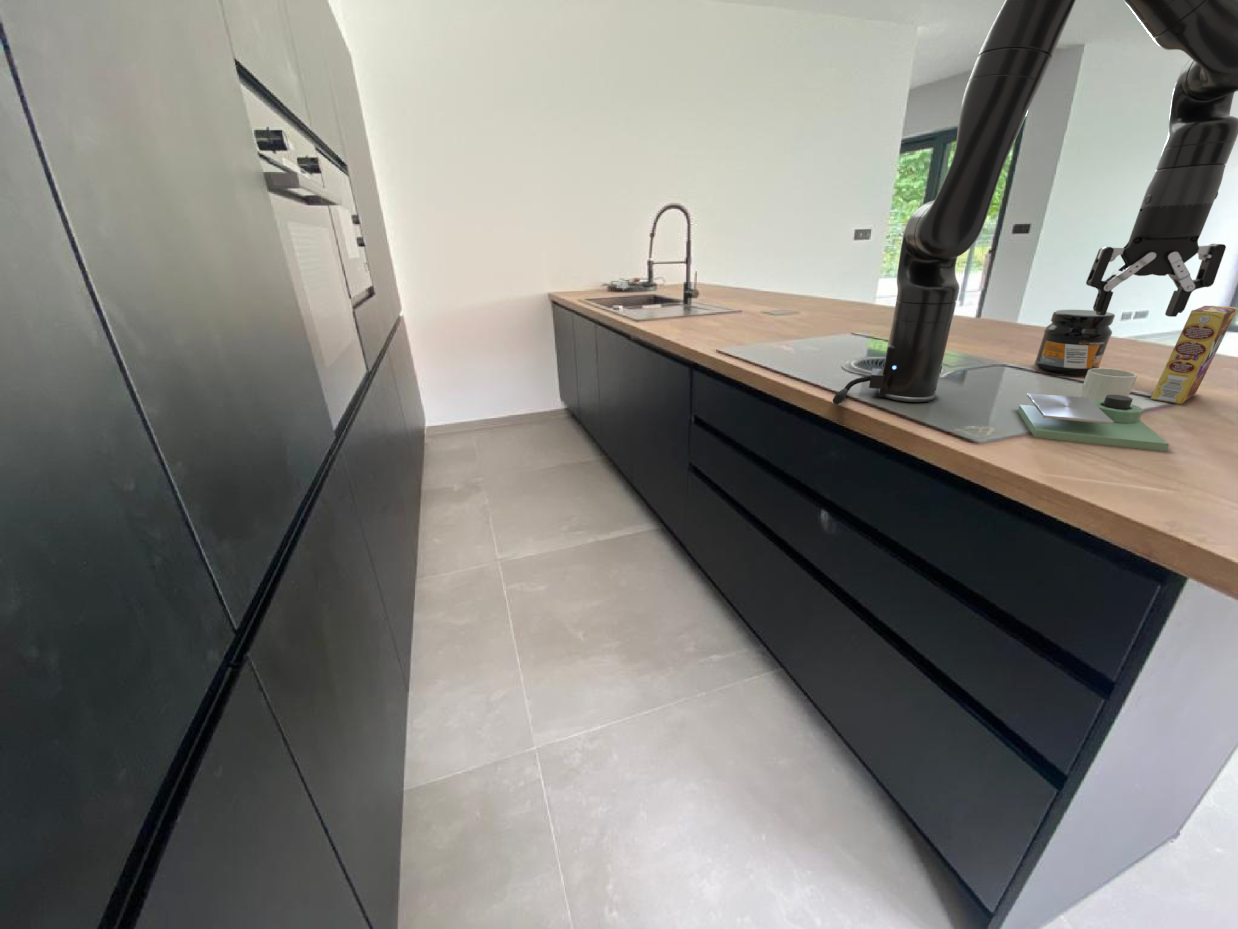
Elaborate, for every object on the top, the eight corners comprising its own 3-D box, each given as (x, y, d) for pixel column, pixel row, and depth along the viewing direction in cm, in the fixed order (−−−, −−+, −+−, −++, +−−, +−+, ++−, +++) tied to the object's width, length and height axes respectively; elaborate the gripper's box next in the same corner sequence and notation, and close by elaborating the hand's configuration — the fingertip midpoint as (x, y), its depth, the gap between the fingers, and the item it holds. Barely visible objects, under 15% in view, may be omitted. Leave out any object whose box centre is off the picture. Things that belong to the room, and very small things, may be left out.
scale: (1034, 437, 75) (1040, 418, 73) (1017, 410, 85) (1022, 393, 84) (1165, 451, 68) (1175, 431, 67) (1129, 420, 79) (1136, 402, 78)
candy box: (1184, 405, 85) (1226, 312, 78) (1149, 399, 88) (1187, 309, 81) (1198, 395, 89) (1239, 306, 83) (1164, 390, 92) (1202, 304, 86)
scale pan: (1043, 417, 74) (1044, 415, 73) (1026, 395, 83) (1027, 393, 83) (1112, 424, 70) (1114, 421, 70) (1087, 400, 80) (1087, 397, 80)
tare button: (1105, 410, 77) (1110, 399, 76) (1099, 404, 79) (1103, 393, 78) (1131, 412, 75) (1136, 401, 75) (1124, 406, 78) (1128, 395, 77)
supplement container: (1072, 379, 100) (1093, 318, 95) (1020, 367, 110) (1037, 311, 105) (1109, 374, 103) (1132, 313, 98) (1056, 363, 112) (1074, 307, 107)
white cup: (1083, 406, 86) (1094, 375, 84) (1073, 396, 91) (1083, 366, 88) (1130, 410, 83) (1143, 378, 81) (1117, 400, 88) (1129, 369, 86)
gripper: (1230, 200, 74) (1183, 313, 81) (1105, 206, 80) (1071, 311, 87) (1260, 198, 68) (1206, 320, 75) (1122, 205, 74) (1084, 317, 81)
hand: (1134, 315), depth 81 cm, fingers open, 8 cm apart
